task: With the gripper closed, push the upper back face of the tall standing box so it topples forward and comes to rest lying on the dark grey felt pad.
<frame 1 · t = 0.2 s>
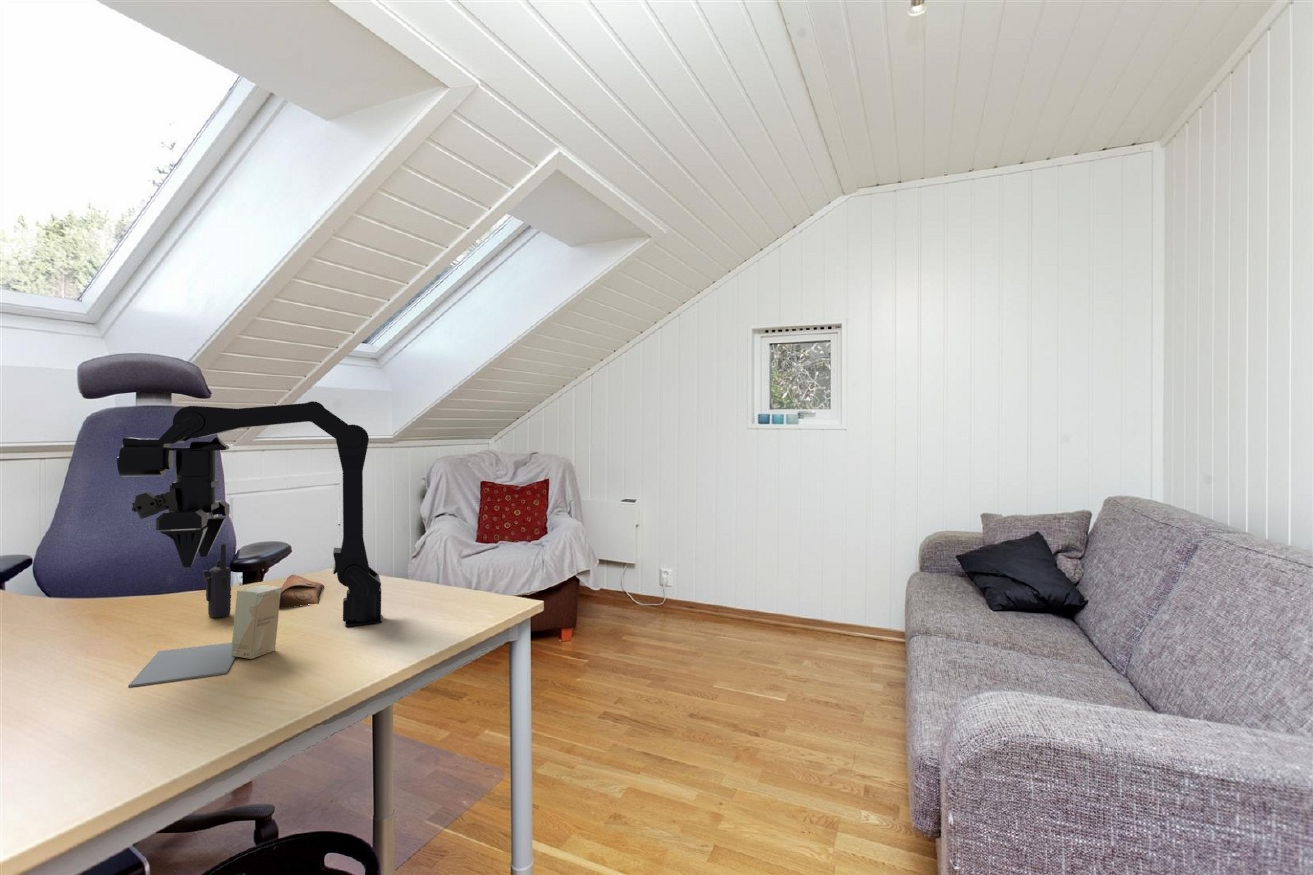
hand: (195, 561, 107), 14 cm above the table, tool pointing down, fingers open, 9 cm apart
felt pad: (191, 662, 97), on the table
two-way radio: (215, 617, 121), on the table
sunglasses case: (301, 599, 136), on the table
box: (253, 654, 101), on the table, touching felt pad
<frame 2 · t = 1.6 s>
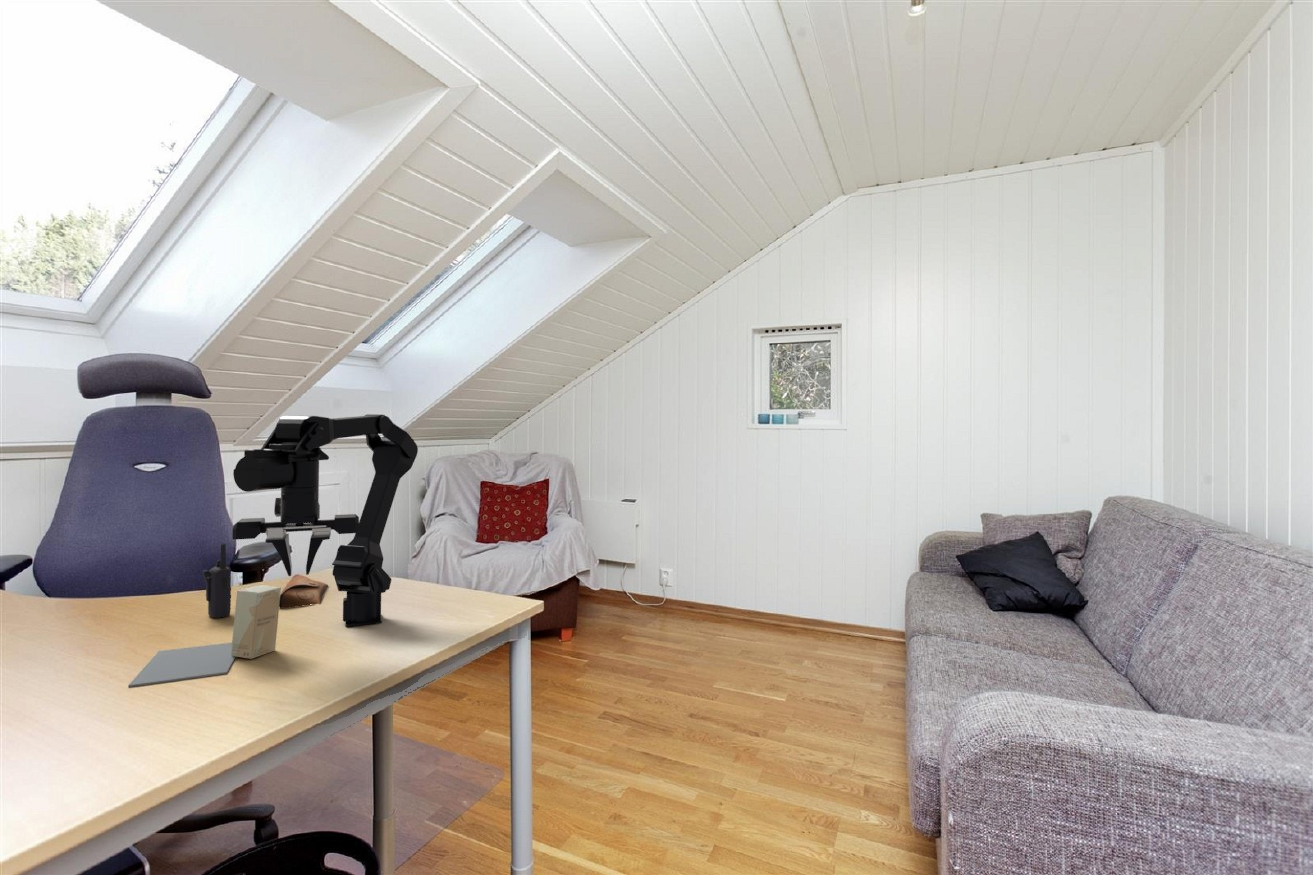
hand: (298, 574, 104), 13 cm above the table, tool pointing down, fingers closed
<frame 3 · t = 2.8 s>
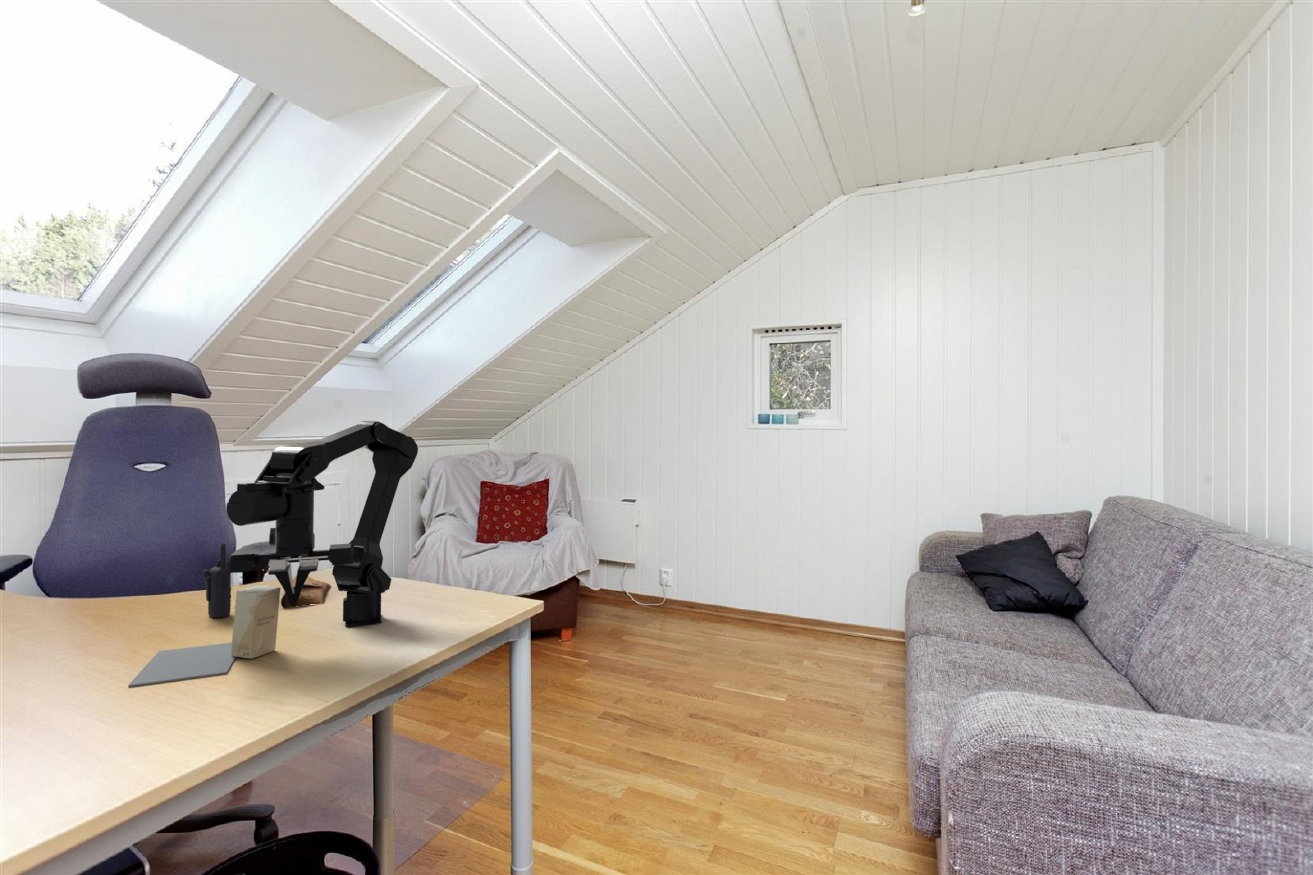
hand: (293, 606, 104), 8 cm above the table, tool pointing down, fingers closed
box: (253, 654, 101), on the table, touching felt pad, gripper
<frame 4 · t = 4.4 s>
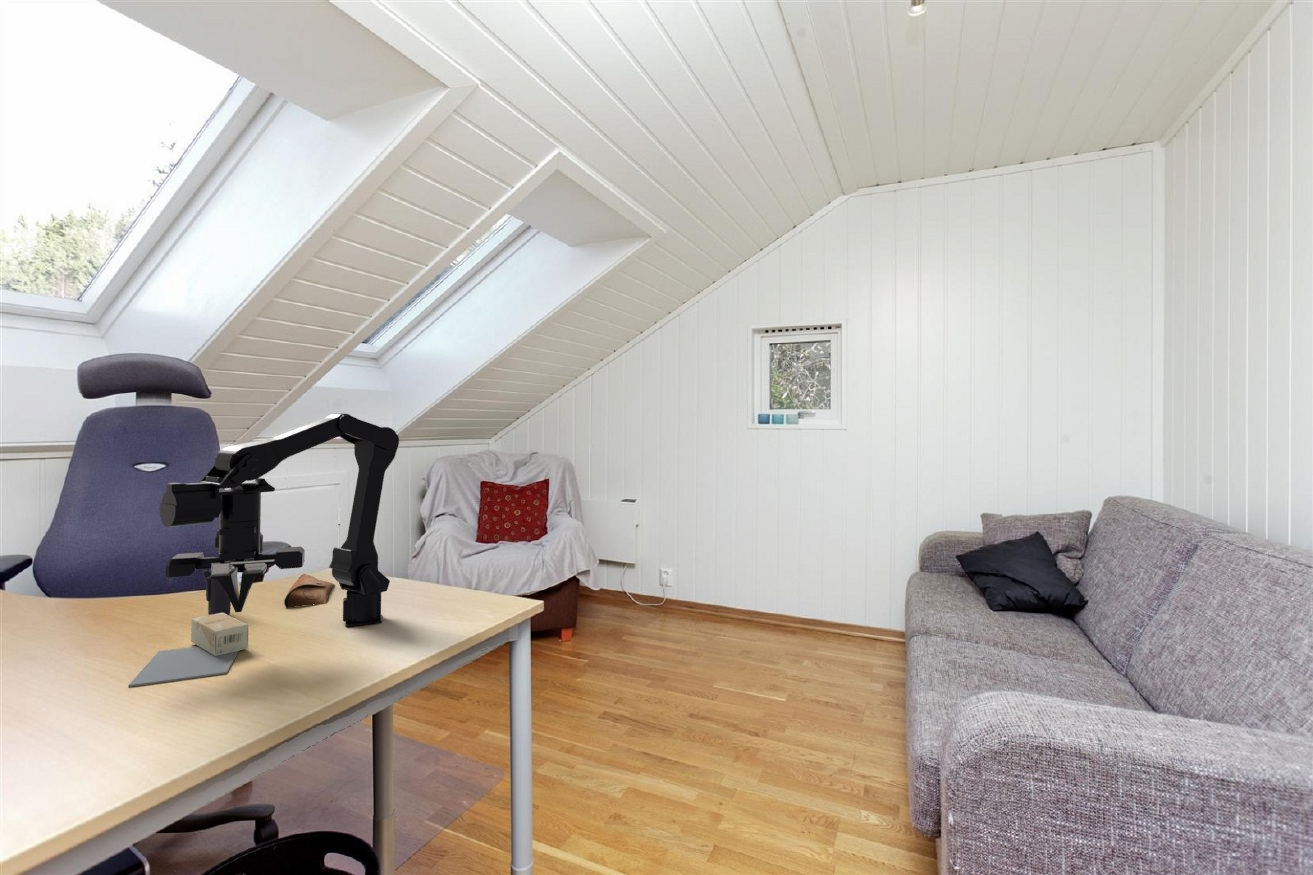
hand: (238, 611, 100), 8 cm above the table, tool pointing down, fingers closed
box: (233, 640, 101), point 2 cm above the table, touching felt pad
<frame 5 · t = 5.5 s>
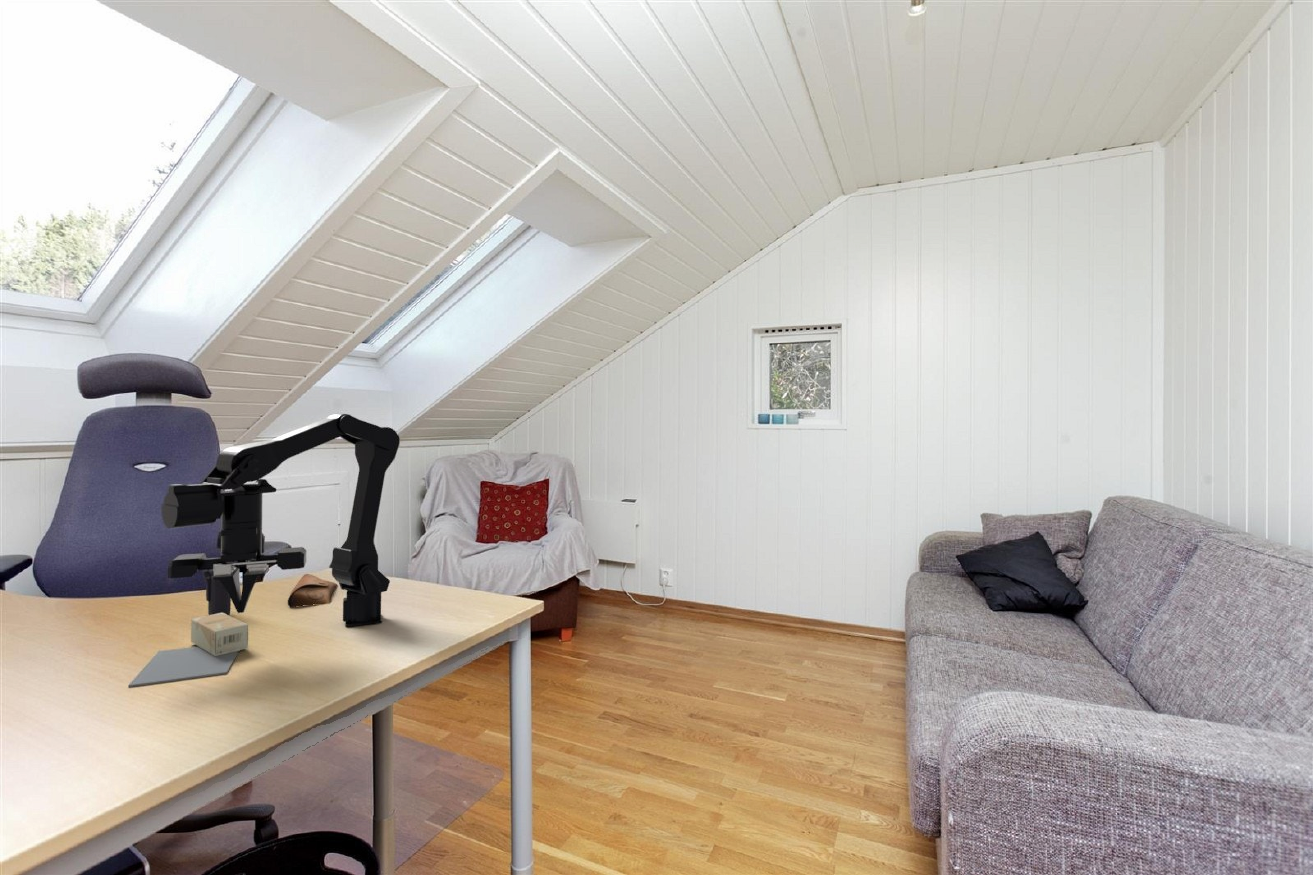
hand: (241, 612, 101), 7 cm above the table, tool pointing down, fingers closed
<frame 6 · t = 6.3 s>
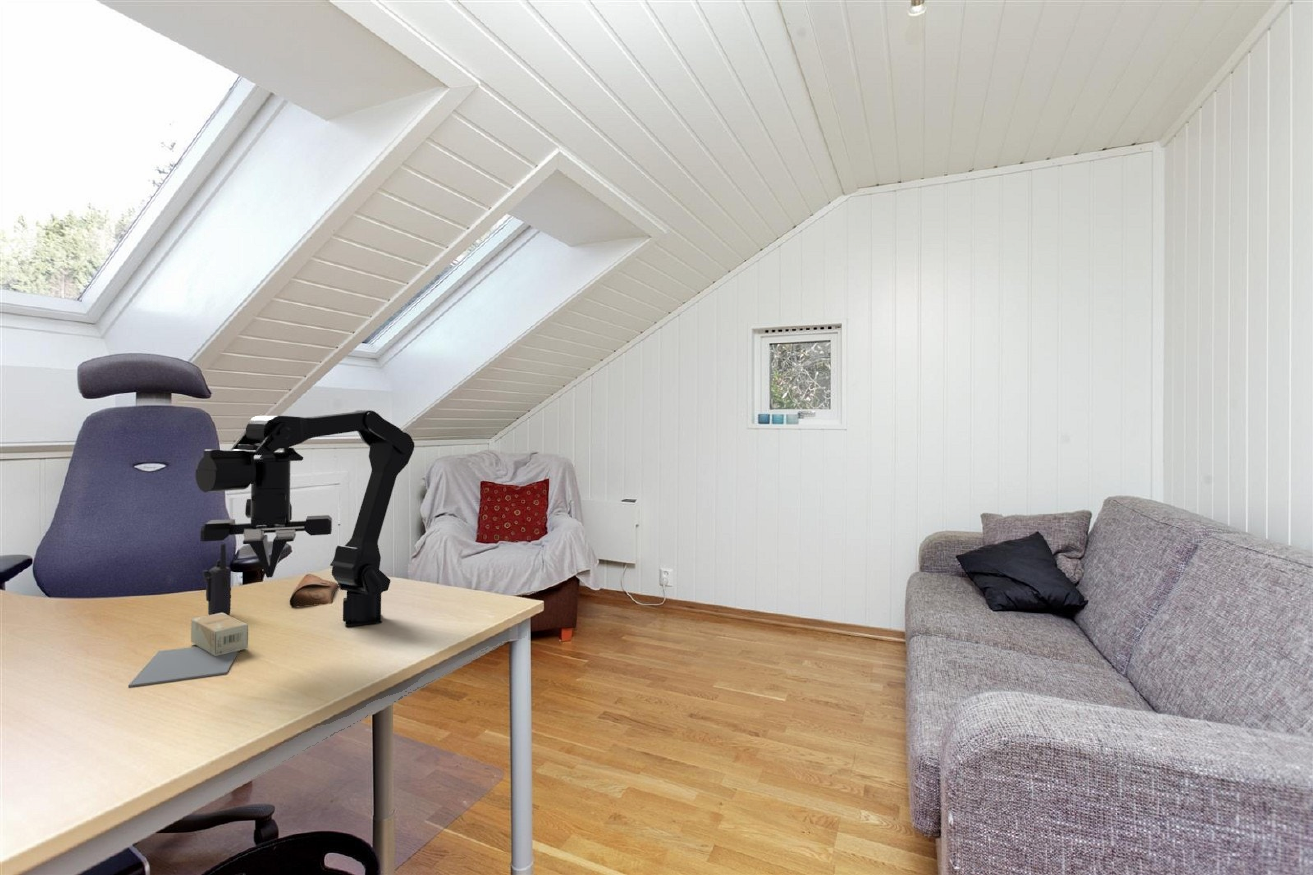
hand: (269, 577, 103), 13 cm above the table, tool pointing down, fingers closed
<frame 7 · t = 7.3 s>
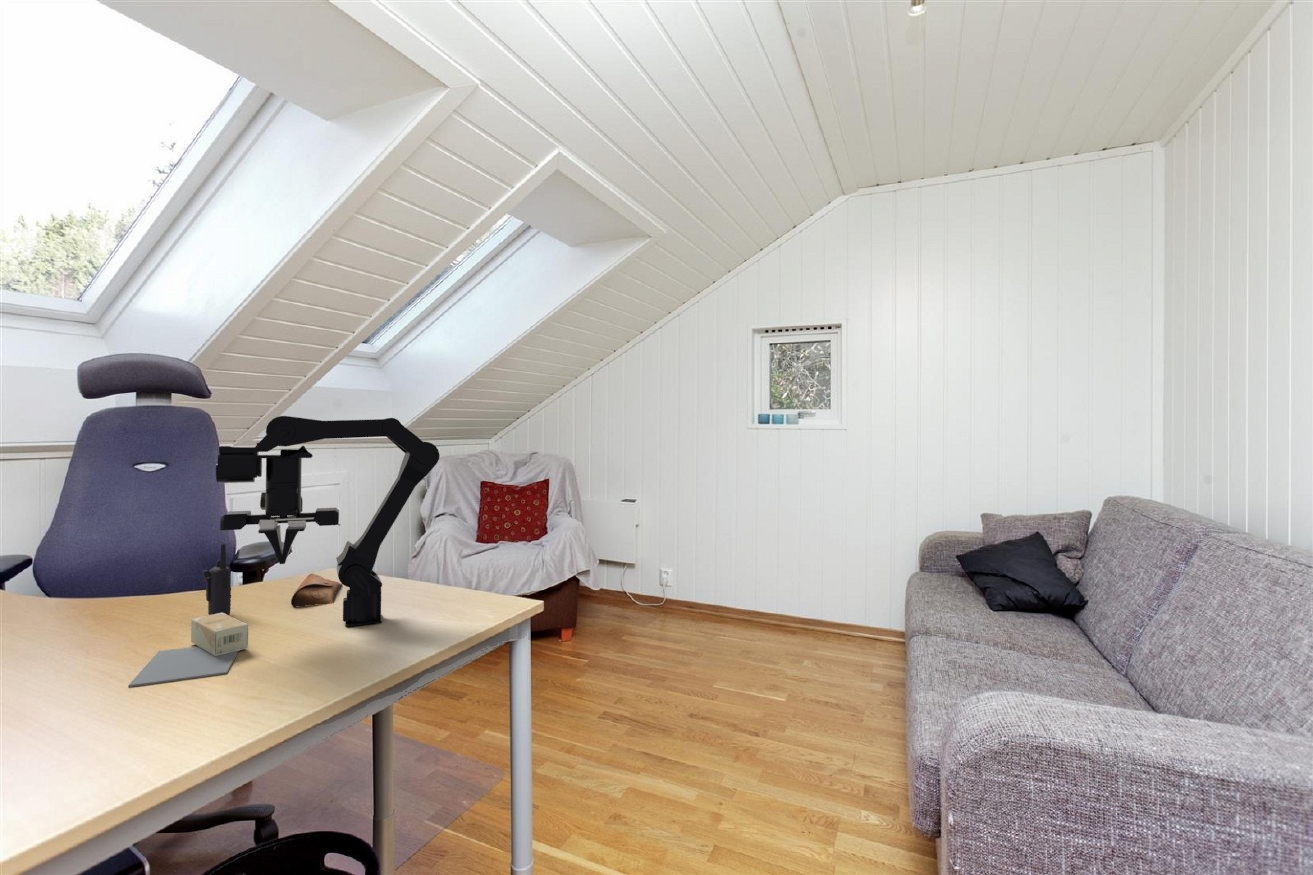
hand: (282, 563, 112), 13 cm above the table, tool pointing down, fingers closed
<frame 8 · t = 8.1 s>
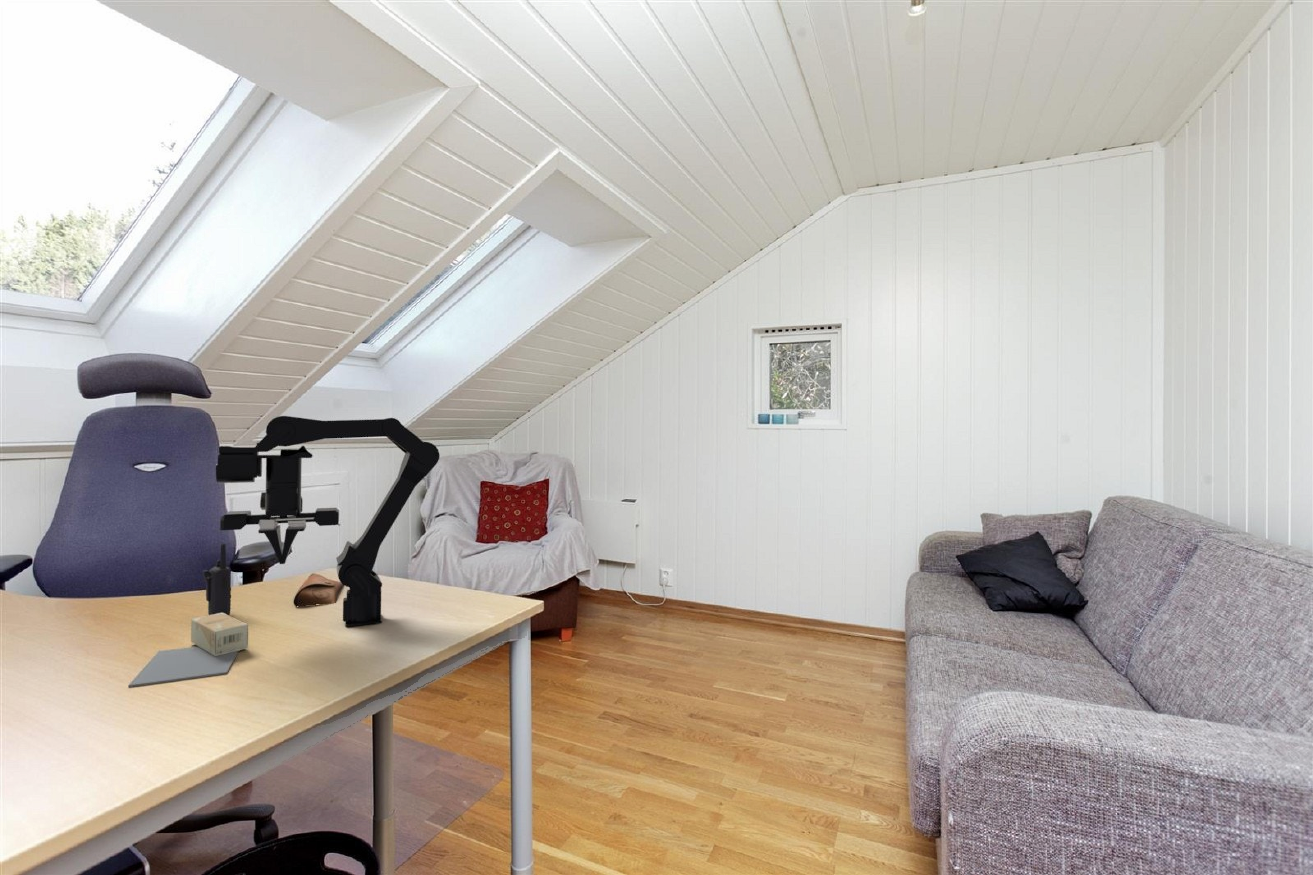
hand: (282, 563, 112), 13 cm above the table, tool pointing down, fingers closed
at the end: box tilted 90°; box inside the target area (4.2 cm from its centre), point 2.4 cm above the table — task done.
